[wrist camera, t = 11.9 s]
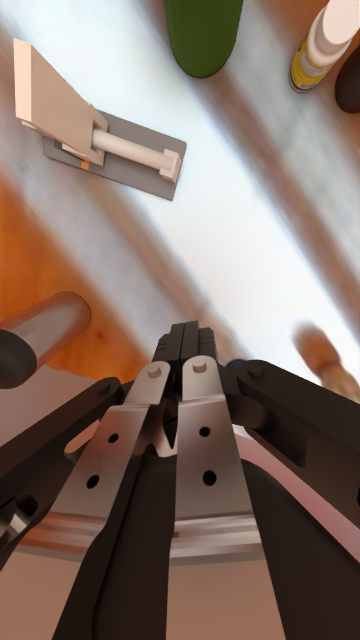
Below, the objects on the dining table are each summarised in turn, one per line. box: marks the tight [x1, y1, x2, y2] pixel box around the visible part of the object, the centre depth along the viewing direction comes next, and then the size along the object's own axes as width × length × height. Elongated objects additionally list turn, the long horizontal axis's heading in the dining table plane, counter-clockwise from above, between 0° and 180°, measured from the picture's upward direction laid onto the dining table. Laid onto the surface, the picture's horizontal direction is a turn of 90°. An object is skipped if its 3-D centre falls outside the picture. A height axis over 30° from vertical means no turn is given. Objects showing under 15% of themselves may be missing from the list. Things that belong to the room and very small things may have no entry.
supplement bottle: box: [289, 0, 360, 92], centre depth 25 cm, size 5×5×8 cm
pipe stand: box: [22, 109, 187, 200], centre depth 31 cm, size 22×8×6 cm, turn 73°
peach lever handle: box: [14, 38, 108, 166], centre depth 25 cm, size 4×6×16 cm
